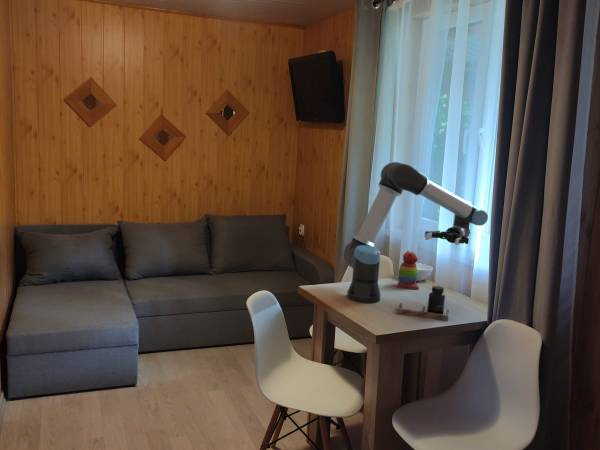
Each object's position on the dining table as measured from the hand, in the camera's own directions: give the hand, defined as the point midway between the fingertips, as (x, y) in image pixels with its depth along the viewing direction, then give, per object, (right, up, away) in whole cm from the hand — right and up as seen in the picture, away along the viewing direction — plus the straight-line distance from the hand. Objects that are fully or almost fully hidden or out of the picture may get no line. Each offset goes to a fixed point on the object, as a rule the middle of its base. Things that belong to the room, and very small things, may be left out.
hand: (441, 239), depth 261 cm
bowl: (-1, -22, +50) cm, 55 cm away
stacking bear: (-9, -25, +34) cm, 43 cm away
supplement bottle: (-5, -32, -11) cm, 34 cm away
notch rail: (-10, -31, -10) cm, 34 cm away
